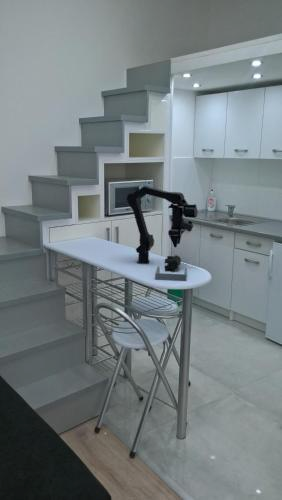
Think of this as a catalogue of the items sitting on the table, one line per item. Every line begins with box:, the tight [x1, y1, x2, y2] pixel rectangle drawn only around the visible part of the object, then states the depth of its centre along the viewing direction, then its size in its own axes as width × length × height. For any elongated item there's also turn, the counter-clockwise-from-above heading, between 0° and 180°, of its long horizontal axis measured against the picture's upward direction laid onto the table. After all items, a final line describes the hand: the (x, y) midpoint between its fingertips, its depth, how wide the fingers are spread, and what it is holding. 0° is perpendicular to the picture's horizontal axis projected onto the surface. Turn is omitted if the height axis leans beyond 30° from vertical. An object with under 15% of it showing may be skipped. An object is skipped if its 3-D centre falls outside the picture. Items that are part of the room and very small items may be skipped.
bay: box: [154, 266, 188, 282], centre depth 213 cm, size 14×15×3 cm
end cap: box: [164, 254, 182, 273], centre depth 225 cm, size 10×7×7 cm
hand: (176, 245), depth 229 cm, fingers open, 9 cm apart
